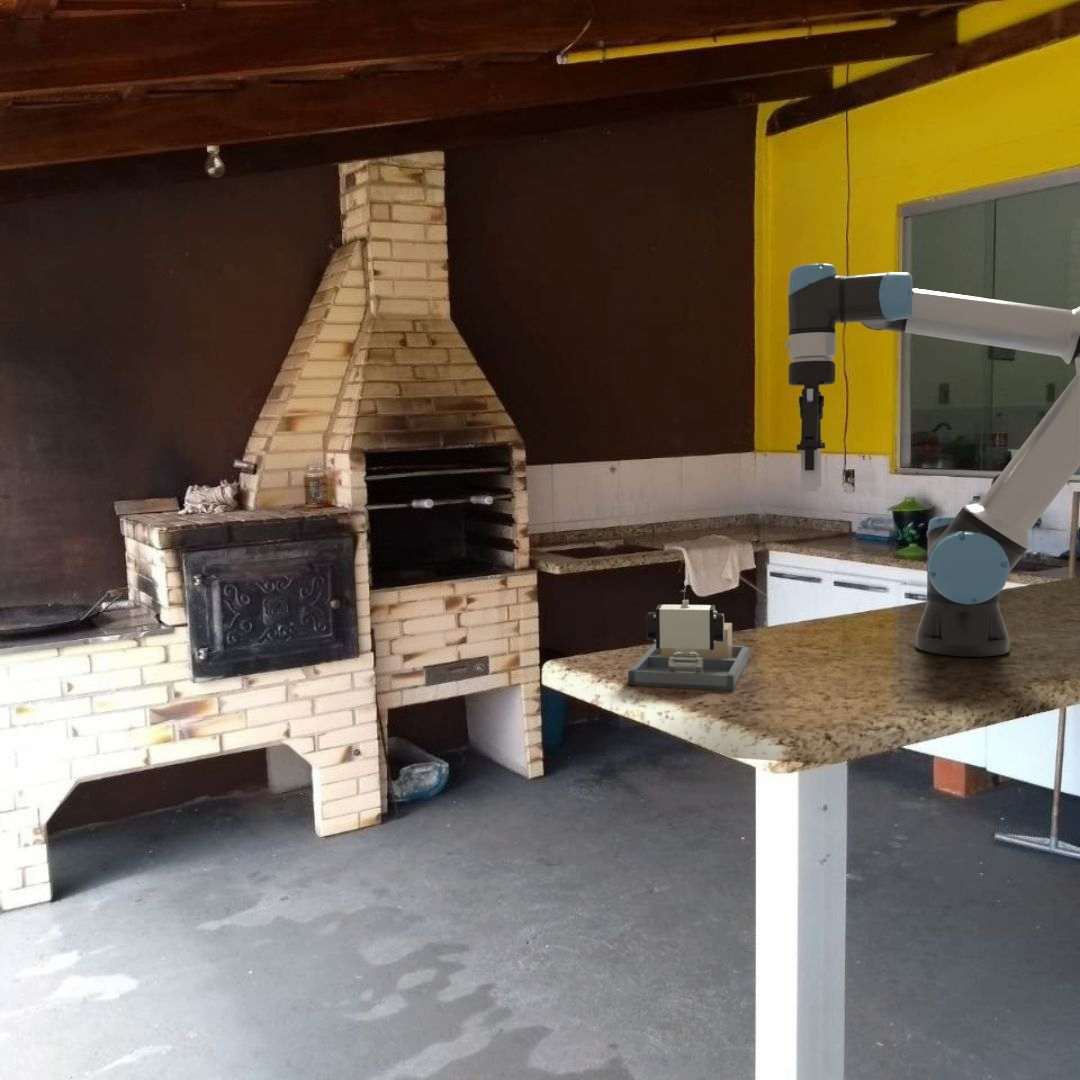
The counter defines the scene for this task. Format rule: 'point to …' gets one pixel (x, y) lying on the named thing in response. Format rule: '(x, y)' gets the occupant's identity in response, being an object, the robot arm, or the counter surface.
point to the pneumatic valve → (685, 633)
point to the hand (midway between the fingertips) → (811, 489)
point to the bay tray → (717, 673)
